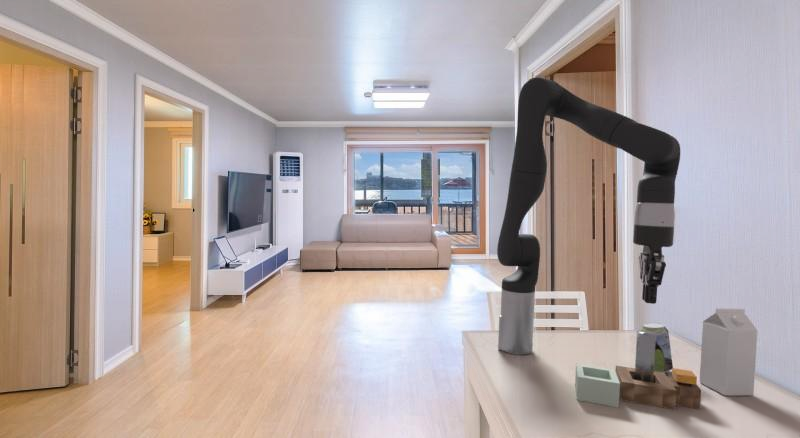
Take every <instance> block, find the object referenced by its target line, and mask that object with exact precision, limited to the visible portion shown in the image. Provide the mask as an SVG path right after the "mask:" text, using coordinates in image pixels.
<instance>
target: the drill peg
mask: <svg viewBox="0 0 800 438" xmlns="http://www.w3.org/2000/svg"><path fill="white" fill-rule="evenodd" d="M655 342H656V334H655V333H654V332H650V331H645V330H641V329H640V330H639V329H638V330H636V342H635V343H636V345H635V362H634V363H635V364H634V368H635V378H634V380H639V381H645V382H652V383H653V378H654V360H655Z"/></svg>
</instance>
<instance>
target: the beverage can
mask: <svg viewBox="0 0 800 438" xmlns="http://www.w3.org/2000/svg"><path fill="white" fill-rule="evenodd" d="M640 330H645V331H650V332H654V333H655V334H656V342H655V360H654V371H656V372H662V373H665V374H666V373H668V372H670V371H672V368H674V366H673V358H672V350H671V341H670V340H671V339H670V333H669V330H668V329H667V327H666V325H665V324H664V323H660V322H646V323H644V324H642V327H641V329H640Z"/></svg>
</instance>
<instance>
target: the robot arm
mask: <svg viewBox="0 0 800 438" xmlns="http://www.w3.org/2000/svg"><path fill="white" fill-rule="evenodd" d="M519 91H520V92H519V94H518V95H519V96H518V101H517V102H518V103H517V104H518V105H517V122H516V123H517V124H516V125H517V126H516V135H515V136H516V137H515V143H514V151H513V159H512V164H511V170H510V176H509V185H508V191H507V192H508V193H507V199H506V206H505V211H504V216H503V220H502V225H501V227H500V231H499V237H498V242H497V248H496V249H497V250H496V252H497V253H496V254H497V260H498V261H499V263H500V264H501V265H502V266H505V267H517V269H516V270H515V271H514V272H513V273H512V274H510V275H508V276H505V277H504V278H503V279H502V280H501V293H500V294H501V297H500V315H499V319H498V338H497V339H498V340H497V350H499V351H503V352H506V353H509V354H513V355H528V354H531V353H532V352H533V346H534V343H533V342H534V341H533V340H534V320H535V300H536V299H535V298H536V286H537V284H538V281H539V271H540V270H539V269H540V261H541V245H540V241H539V239H538V238H537V236H535V235H534V234H531V233H520V231H521V226H522V223H523V221H524V219H525V217H526V215H527V214H528V212H529V211H531V209H532V208H533V206H534V205H535V204H536V202H537V201H538V199H540V196H541V195H542V194H543V191H544V188H545V182H546V178H547V177H546V176H547V172H548V171H547V167H548V161H547V154H546V150H545V149H546V148H545V146H544V139H543V135H544V134H543V131H544V126H545V118H546V117H547V116H548V117H550V118H551V117H553V118H556V119H560V120H563V121H566V122H569V123H570V124H572V125H574V126H576V127H578V128H579V129H580V130H582V131H583V132H585V133H586V134H588V135H589V136H591V137H592V138H595V139H597V140H599V141H601V142H603V143H605V144H607V145H609V146H611V147H614V148H617V149H619V150H622V151H623V152H626V153H627V154H629V155H630V156H632V157H634V158H636V159H638V160H641V161H642V162H643V173H642V177H641V178H640V179H639V180H638V184H637V194H636V206H635V211H634V220H633V221H634V224H633V237H632V242H633V244H635V245H637V246H643V247H642V252H640V253H639V257H638V259H639V274H640V275H639V278H640V280H641V283H642V296H641V297H642V298H641V300H643V301H644V303H646V304H653V305H655V304H657V298H658V297H657V295H658V287H659V286H661V285H662V281H663V278H664V275H665V271H666V270H665V269H666V267H667V264H666V261H665V255H664V254H663V249H662V248H671V247H673V245H674V233H675V220H676V219H675V218H676V217H675V215H676V214H675V213H676V211H675V198H676V195H675V194H676V179H677V175H678V170H679V166H680V161H681V145H680V143H679V141H678V140H677V138H676V137H674V136H672V135H670V134H669V133H667V132H665V131H663V130H660V129H657V128H655V127H653V126H649V125H646V124H644V123H640V122H637V121H636V120H634V119H632V118H630V117H628V116H626V115H624V114H621V113H618V112H616V111H613V110H611V109H608V108H606V107H603V106H599V105H597V104H595V103H592V102H589V101H588V100H584V99H583V98H581V97H578V95H575V94H573V93H572V92H571V91H570V90H568V89H567V88H565V87H564V86H562V85H560V84H559V83H558V82H557V81H556V80H551V79H548V78H545V77H539V76H534V77H531V78H529V79H528V80H526V81H525V82H524V83H523V85H522V87H521V88H520V90H519Z"/></svg>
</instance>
